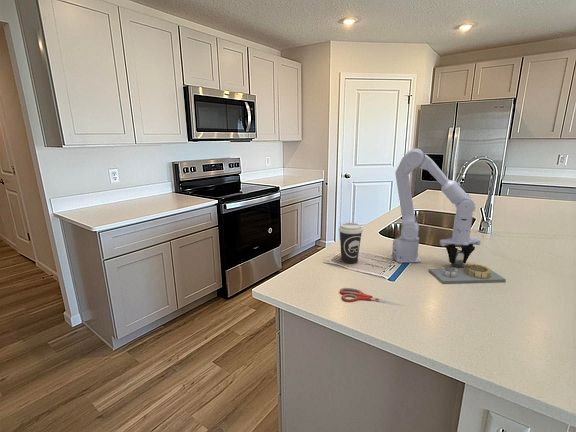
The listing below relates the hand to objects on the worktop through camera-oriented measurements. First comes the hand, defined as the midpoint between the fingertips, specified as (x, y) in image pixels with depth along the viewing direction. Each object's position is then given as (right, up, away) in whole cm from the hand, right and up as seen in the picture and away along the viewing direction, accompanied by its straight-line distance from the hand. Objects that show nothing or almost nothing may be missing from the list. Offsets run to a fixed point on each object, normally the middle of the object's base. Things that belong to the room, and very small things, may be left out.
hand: (457, 262), depth 119 cm
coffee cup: (-40, 0, +7) cm, 41 cm away
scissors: (-39, -9, -22) cm, 45 cm away
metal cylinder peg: (0, -1, 0) cm, 1 cm away
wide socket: (+2, -4, -8) cm, 9 cm away
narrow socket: (-8, -4, -9) cm, 12 cm away
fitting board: (-2, -4, -8) cm, 9 cm away
